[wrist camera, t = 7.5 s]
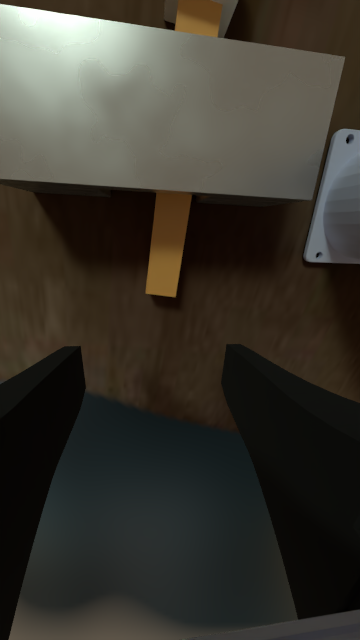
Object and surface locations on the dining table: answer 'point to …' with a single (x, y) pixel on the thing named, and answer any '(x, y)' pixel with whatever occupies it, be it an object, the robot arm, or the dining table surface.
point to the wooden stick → (173, 209)
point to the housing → (158, 111)
